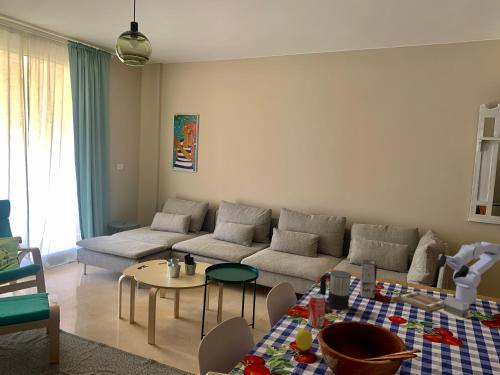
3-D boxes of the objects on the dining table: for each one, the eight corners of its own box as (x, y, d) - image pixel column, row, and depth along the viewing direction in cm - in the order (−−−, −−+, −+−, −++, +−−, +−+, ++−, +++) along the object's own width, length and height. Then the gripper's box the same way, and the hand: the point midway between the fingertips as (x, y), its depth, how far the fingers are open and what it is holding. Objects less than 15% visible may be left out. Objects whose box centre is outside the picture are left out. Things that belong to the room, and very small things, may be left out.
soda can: (314, 329, 151) (316, 299, 150) (304, 323, 157) (306, 293, 156) (327, 327, 154) (329, 297, 153) (317, 320, 160) (319, 291, 159)
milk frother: (350, 304, 180) (352, 272, 178) (346, 317, 165) (349, 282, 163) (318, 299, 184) (320, 267, 183) (312, 311, 169) (314, 277, 168)
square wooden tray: (416, 295, 196) (416, 289, 196) (451, 308, 181) (452, 301, 181) (393, 301, 186) (393, 295, 186) (429, 315, 171) (429, 308, 171)
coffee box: (375, 298, 188) (377, 265, 187) (360, 296, 190) (363, 263, 188) (373, 292, 197) (375, 260, 196) (359, 290, 199) (362, 259, 197)
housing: (449, 308, 176) (451, 296, 176) (468, 315, 170) (469, 302, 169) (443, 310, 173) (444, 298, 173) (461, 317, 167) (463, 304, 166)
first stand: (449, 309, 179) (450, 306, 179) (474, 318, 170) (475, 315, 170) (436, 314, 173) (436, 310, 173) (461, 323, 164) (461, 320, 164)
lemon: (293, 346, 137) (295, 324, 137) (309, 346, 138) (310, 324, 137) (296, 354, 132) (298, 331, 131) (313, 354, 132) (314, 331, 132)
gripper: (447, 244, 183) (432, 256, 175) (479, 260, 173) (465, 273, 165) (443, 257, 186) (428, 269, 179) (475, 273, 176) (460, 286, 169)
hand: (446, 272), depth 172 cm, fingers open, 7 cm apart
